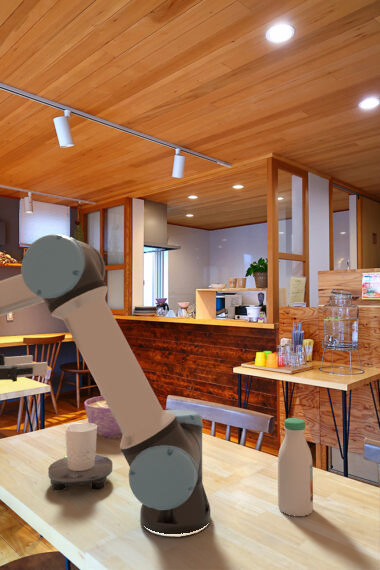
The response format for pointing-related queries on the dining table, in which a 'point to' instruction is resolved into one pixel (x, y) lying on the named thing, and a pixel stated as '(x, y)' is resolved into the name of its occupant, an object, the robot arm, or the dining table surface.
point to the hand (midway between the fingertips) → (39, 364)
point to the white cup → (81, 446)
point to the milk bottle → (295, 471)
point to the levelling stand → (79, 474)
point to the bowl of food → (102, 417)
